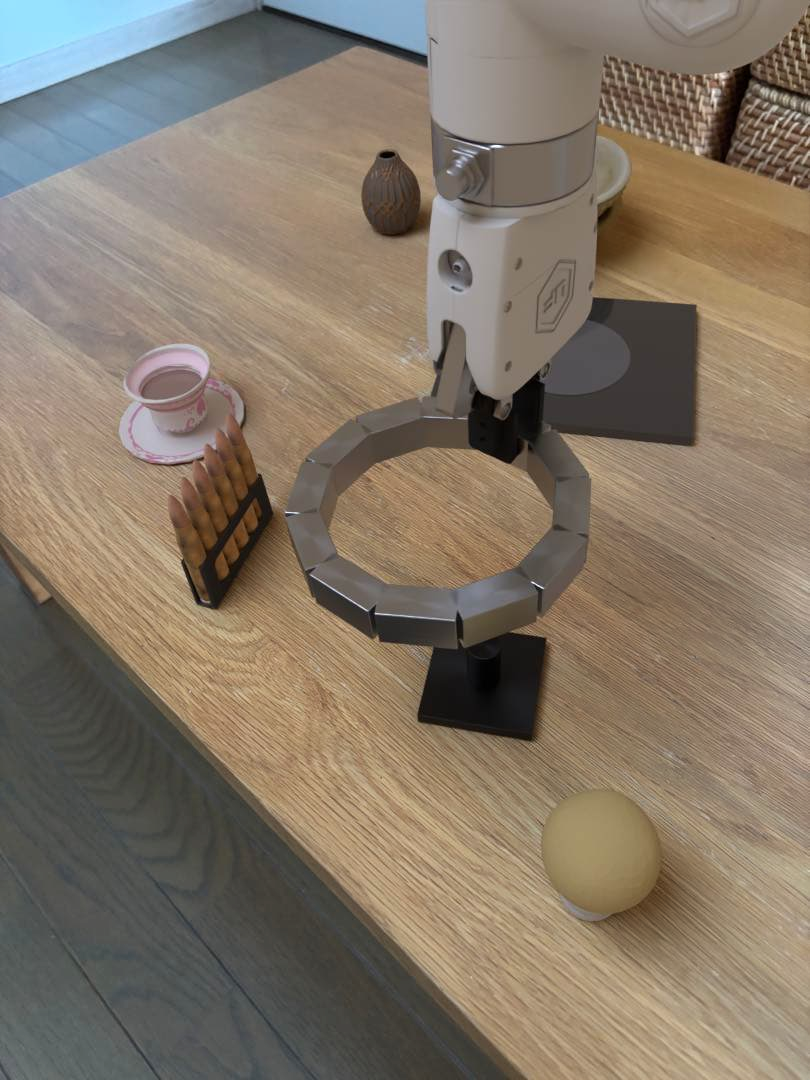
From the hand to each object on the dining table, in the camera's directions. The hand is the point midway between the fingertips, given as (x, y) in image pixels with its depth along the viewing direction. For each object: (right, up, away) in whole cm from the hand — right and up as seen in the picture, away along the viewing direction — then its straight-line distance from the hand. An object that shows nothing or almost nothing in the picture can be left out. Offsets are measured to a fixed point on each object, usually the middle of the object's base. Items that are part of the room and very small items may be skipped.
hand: (505, 437), depth 54 cm
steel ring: (-4, -6, -3) cm, 8 cm away
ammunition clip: (-20, -8, +18) cm, 28 cm away
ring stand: (-1, -17, +8) cm, 19 cm away
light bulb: (+5, -28, -1) cm, 28 cm away
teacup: (-27, +5, +29) cm, 40 cm away
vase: (-8, +31, +50) cm, 59 cm away
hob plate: (+10, +11, +31) cm, 34 cm away
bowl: (+9, +27, +45) cm, 53 cm away
